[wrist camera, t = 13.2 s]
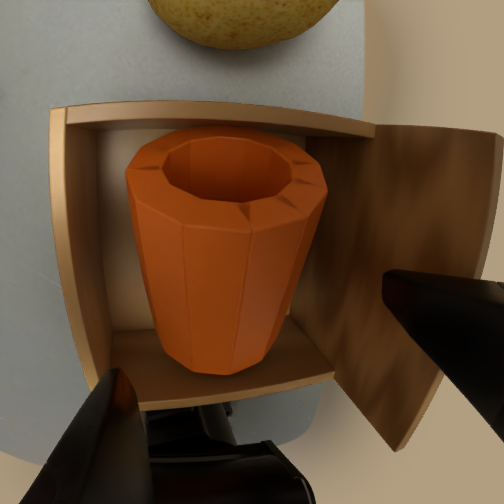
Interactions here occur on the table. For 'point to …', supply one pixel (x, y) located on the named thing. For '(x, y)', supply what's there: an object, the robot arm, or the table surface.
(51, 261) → the table surface
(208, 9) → the fruit
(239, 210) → the orange octagonal cup
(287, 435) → the table surface
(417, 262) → the pine crate
